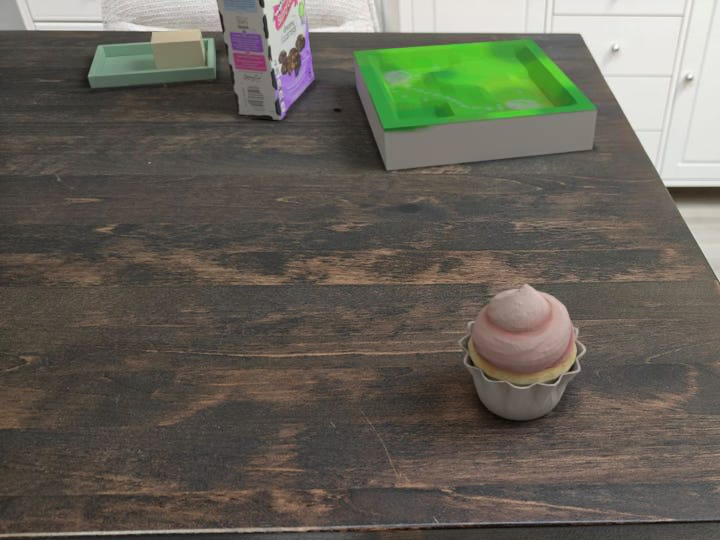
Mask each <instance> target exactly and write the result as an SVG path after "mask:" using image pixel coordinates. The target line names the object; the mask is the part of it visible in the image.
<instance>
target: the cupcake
mask: <svg viewBox="0 0 720 540" xmlns="http://www.w3.org/2000/svg"><path fill="white" fill-rule="evenodd" d="M467 330H468V333H467V334H466V335H464V336H462V337H461V338H460V339H459V341H457V343H458V346H459V347H460V349H461V350H462V352H463V355H464V357H463V365H464V366H465V367H466V369H467V370H468V372H469V373H470V374H471V375H472V378H473V383H474V387H475V390H476V393H477V396H478V398H479V400H480V402H481V403H482V404H483V405H484V406H485V408H486V409H487V410H488V411H489V412H491V413H493V414H494V415H496V416H498V417H501V418H503V419H506V420H511V421H532V420H536V419H538V418H541V417H544V416H546V415H547V414H549V413H550V412H551V411H552V410H553V409H555V407H556V406H557V405H558V404H559V402H560V400H561V398H562V396H563V393H564V392H565V390H566V387H567V385H568V383H569V382H570V381H572V379H574V378H575V377H576V376H577V375H578V374H579V373H580V372H581V364H580V362H579V361H580V360H581V359H582V358H583V356H584V355H585V353H586V351H587V348H586V346H585V345H584V344H583V343H582V342H580V341H579V340H578V337H579V336H578V335H579V327H576V326H574V325H573V322H572V320H571V317H570V315H569V312H568V309H567V307H566V306H565V305H564V304H563V303H562V302H561V301H560V300H558V299H557V298H556V297H555V296H553V295H551V294H549V293H546V292H544V291H539V290H536V289H535V288H534V287H532V286H531V285H529V284H528V283H524V284H523V285H521V287H520V288H512V289H507V290H504V291H501V292H499V293H497V294H495V295H494V296H493V297H492V298H491V300H490V302H489V303H488V304H486V305H485V306H484V307H483V308H482V309H481V310H480V311H479V313H478V314H477V316H476V318H475V320H472V321H471V320H470V321H468V323H467Z"/></svg>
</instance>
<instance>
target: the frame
mask: <svg viewBox="0 0 720 540" xmlns="http://www.w3.org/2000/svg"><path fill="white" fill-rule="evenodd" d="M202 39H203V43H204V48H205V53H206V66H202V67H188V68H174V69H160V70H157V67H156V63H155V60H154V56H153V52H152V48H151V44H150V43H151V41H143V42H129V43H113V44H98V45H97V46H96V47H97V48H96V50H95V53H94V57H93V59H92V62H91V65H90V68H89V71H88V75H87V80H88V82H89V86H90V89H100V88H112V87H127V86H139V85H141V86H142V85H151V84H152V85H153V84H167V83H179V82H181V83H182V82H191V81H194V82H195V81H204V80H205V81H206V80H207V81H208V80H217V50H216V49H217V48H216V45H215V44H216V42H215V38H214V37H206V38H204V37H203V38H202Z"/></svg>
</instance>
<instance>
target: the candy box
mask: <svg viewBox="0 0 720 540" xmlns="http://www.w3.org/2000/svg"><path fill="white" fill-rule="evenodd" d="M216 5H217V10H218V15H219V21H220V26H221V32H222V36H223V41H224V46H225V53H226V57H227V63H228V67H229V72H230V78H231V83H232V88H233V93H234V98H235V103H236V109H237V113H238V115H245V116H243V117H245V118H253V119H254V118H255V119H263V120H272V121H274V120H275V121H281V120H283V119H284V118H285V117H286V115H287V114H288V112H287V111H288V110H289V109H290V108H291V107H292V105H293V104H294V103H295V102H296V101H297V100H298V98H299V97H300V96H301V95H302V94H303V93H304V92H305V90H306V89H307V88H308V87H309V86H310V85H311V84H312V82H313V81H315V79H316V78H315V70H314V69H315V68H314V62H313V55H312V48H311V39H310V32H309V31H310V30H309V23H308V17H307V8H306V1H305V0H216Z"/></svg>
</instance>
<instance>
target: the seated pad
mask: <svg viewBox="0 0 720 540" xmlns="http://www.w3.org/2000/svg"><path fill="white" fill-rule="evenodd" d="M203 39H204V38H203V35H202V30H201V28H194V29H192V28H191V29H176V30H159V31H152V32H151V38H150V42H151V43H150V44H151V48H152V52H153V56H154V60H155V63H156V67H157V70H160V69H174V68H188V67H202V66H206V53H205V48H204V43H203Z"/></svg>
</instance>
